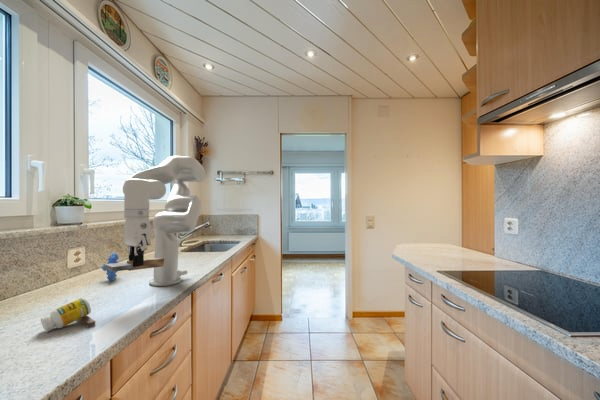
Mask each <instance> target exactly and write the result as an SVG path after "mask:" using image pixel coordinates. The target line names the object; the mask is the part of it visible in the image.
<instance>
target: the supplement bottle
mask: <svg viewBox="0 0 600 400" xmlns="http://www.w3.org/2000/svg"><path fill="white" fill-rule="evenodd" d="M88 301H89V300H88V299H86V297H81V298H78V299H75V300H73V301H72V302H69V303H66V304H65V305H62V306H60V307H57V308H55V309H53V310H52V311H51V312H50V315H45V316H43V317H41V318H40V323H41V326H42V328H43V330H44V331H45V333H49V332H50V331H52V330H54V329H55V328H56V329H62V328H64V327H66V326H67V325H70V324H72V323H75V322H76V321H78V319H80V318H82V317H84V316H86V315H87V316H89V315H90V314H91V313H92V312H91V311H92V309H91V305H90V303H89V302H88Z"/></svg>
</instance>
